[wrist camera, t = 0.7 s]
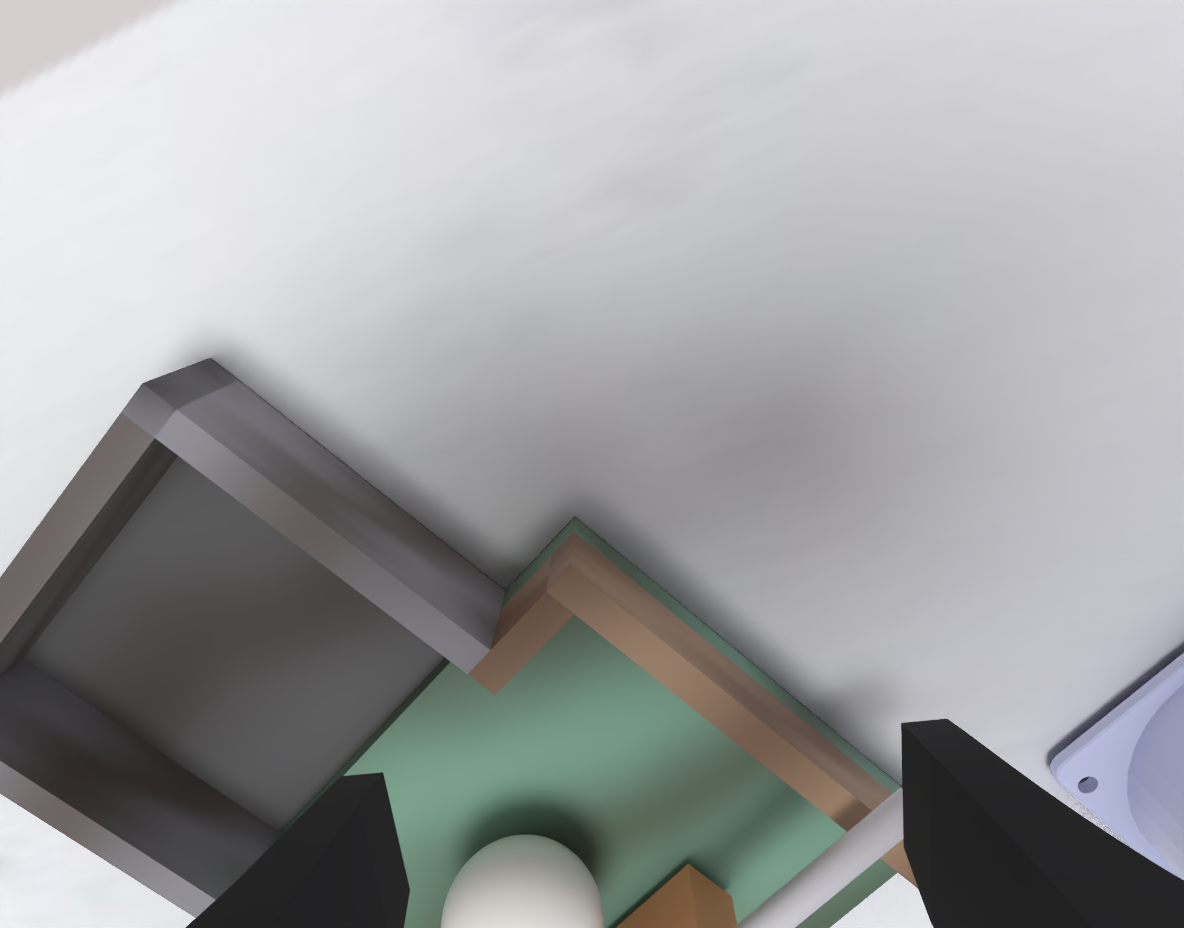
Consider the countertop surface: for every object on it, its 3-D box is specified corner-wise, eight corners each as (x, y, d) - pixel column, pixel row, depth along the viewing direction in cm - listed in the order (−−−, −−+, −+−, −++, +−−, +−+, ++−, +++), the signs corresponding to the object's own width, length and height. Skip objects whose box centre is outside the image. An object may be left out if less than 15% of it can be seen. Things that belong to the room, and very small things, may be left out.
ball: (634, 857, 22) (641, 991, 18) (538, 944, 23) (526, 1089, 19) (520, 773, 22) (503, 894, 18) (425, 866, 22) (389, 1001, 19)
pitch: (928, 809, 23) (975, 895, 20) (552, 1120, 26) (546, 1230, 24) (276, 269, 19) (218, 280, 16) (-64, 723, 22) (-162, 798, 20)
